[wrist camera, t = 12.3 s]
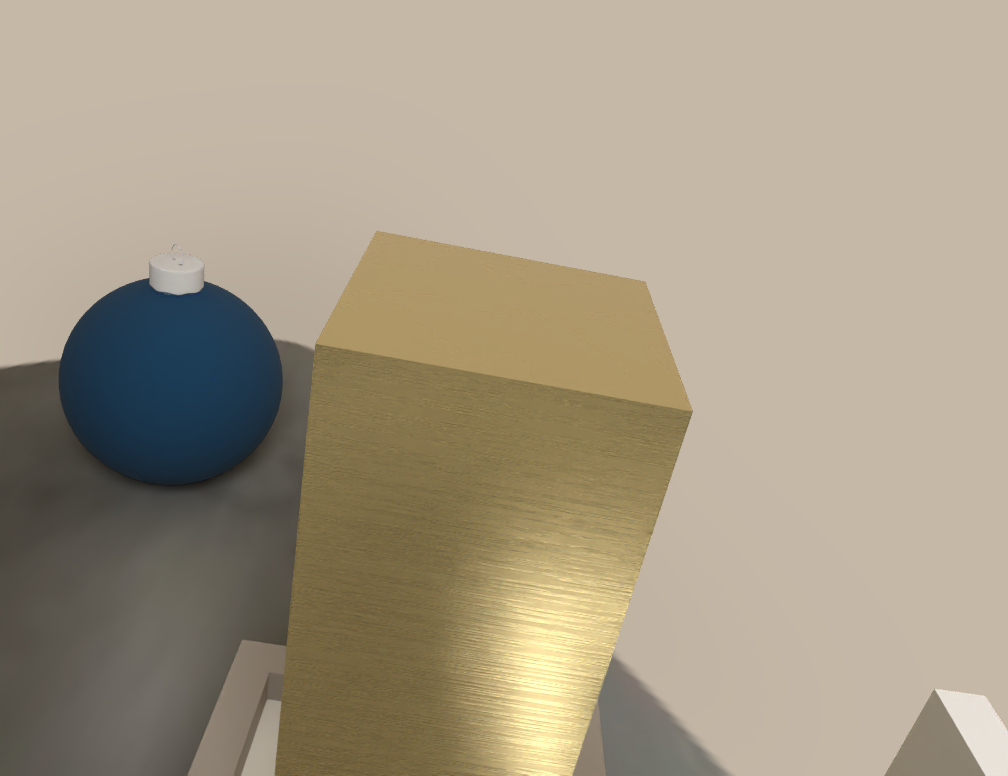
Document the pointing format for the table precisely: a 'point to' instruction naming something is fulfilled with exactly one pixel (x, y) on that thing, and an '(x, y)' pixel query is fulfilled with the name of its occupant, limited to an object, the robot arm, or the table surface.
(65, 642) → the table surface
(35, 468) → the table surface
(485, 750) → the block
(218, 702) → the white square tray
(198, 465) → the christmas ornament
